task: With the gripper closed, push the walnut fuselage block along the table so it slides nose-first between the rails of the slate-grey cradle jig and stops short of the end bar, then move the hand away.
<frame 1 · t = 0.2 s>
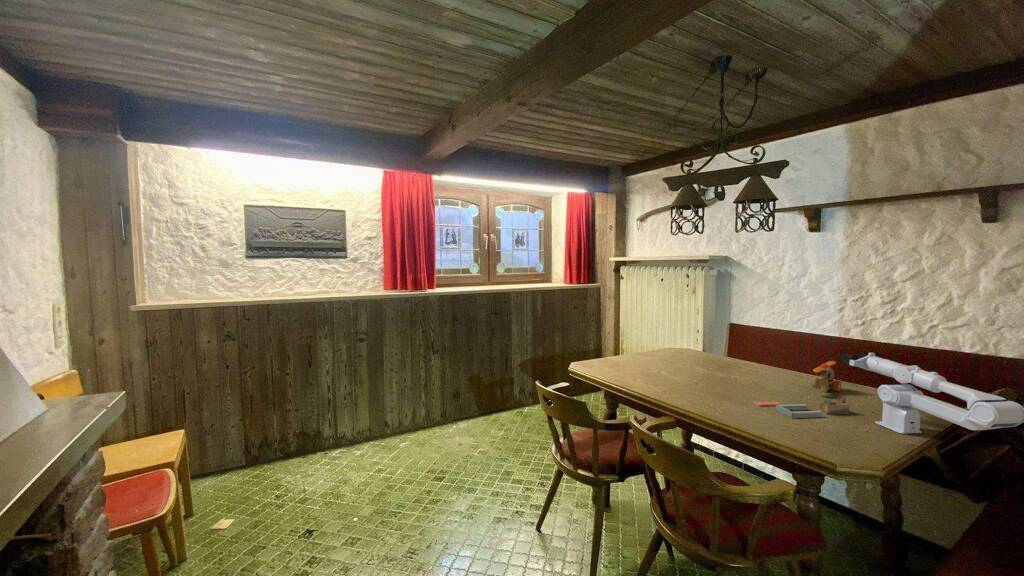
hand: (850, 356, 162), 21 cm above the table, tool horizontal, fingers open, 7 cm apart
cradle jig: (799, 413, 158), on the table
orange handled valve: (823, 392, 182), on the table
fuselage block: (833, 412, 158), on the table
wing plank: (767, 405, 167), on the table
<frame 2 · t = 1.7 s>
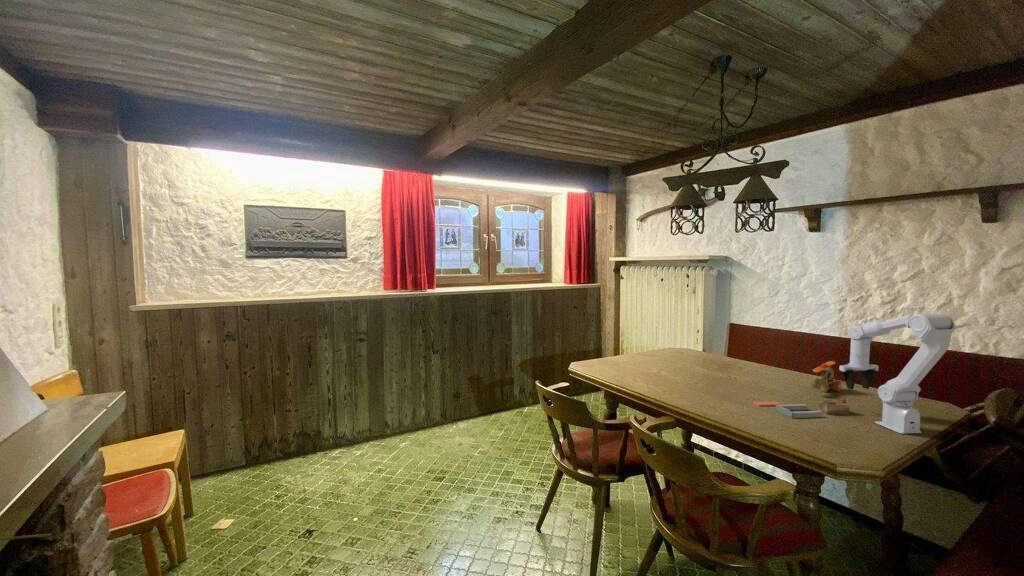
hand: (857, 388, 158), 9 cm above the table, tool pointing down, fingers open, 6 cm apart
nothing on the table moved.
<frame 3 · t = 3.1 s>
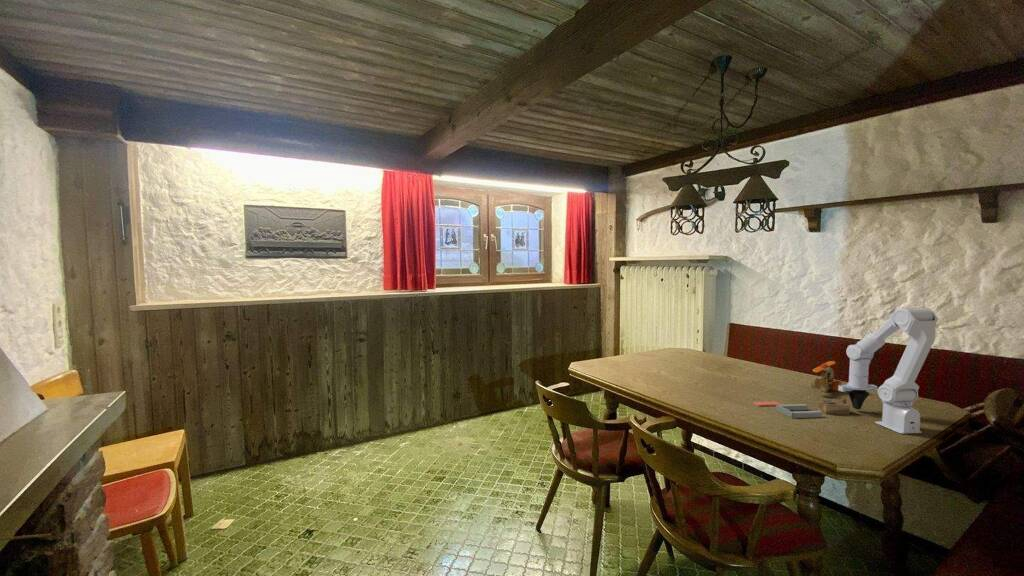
hand: (856, 408, 159), 1 cm above the table, tool pointing down, fingers closed
nothing on the table moved.
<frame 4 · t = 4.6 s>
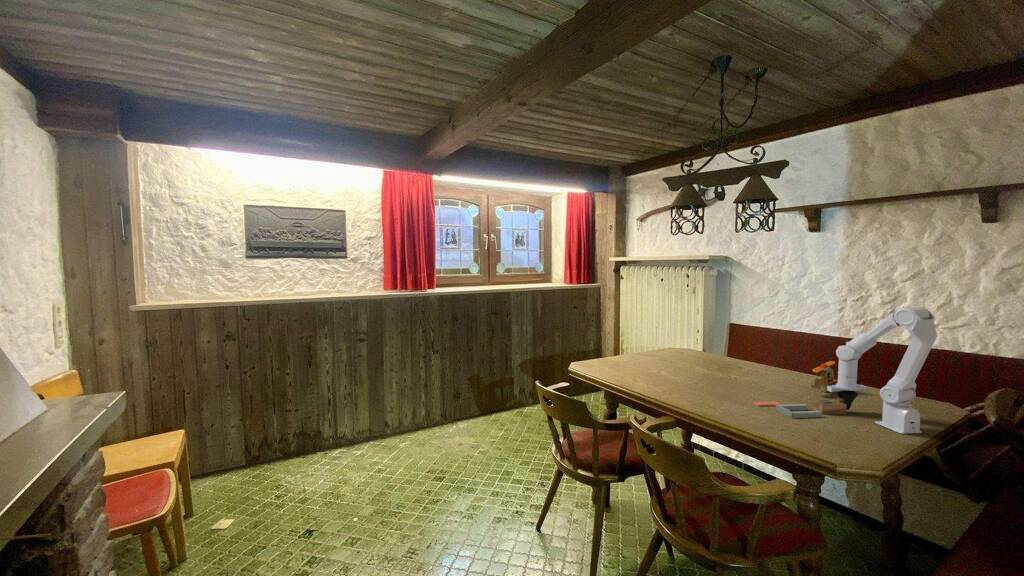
hand: (845, 408, 159), 1 cm above the table, tool pointing down, fingers closed
fuselage block: (830, 412, 158), on the table, touching gripper
everything else where it was.
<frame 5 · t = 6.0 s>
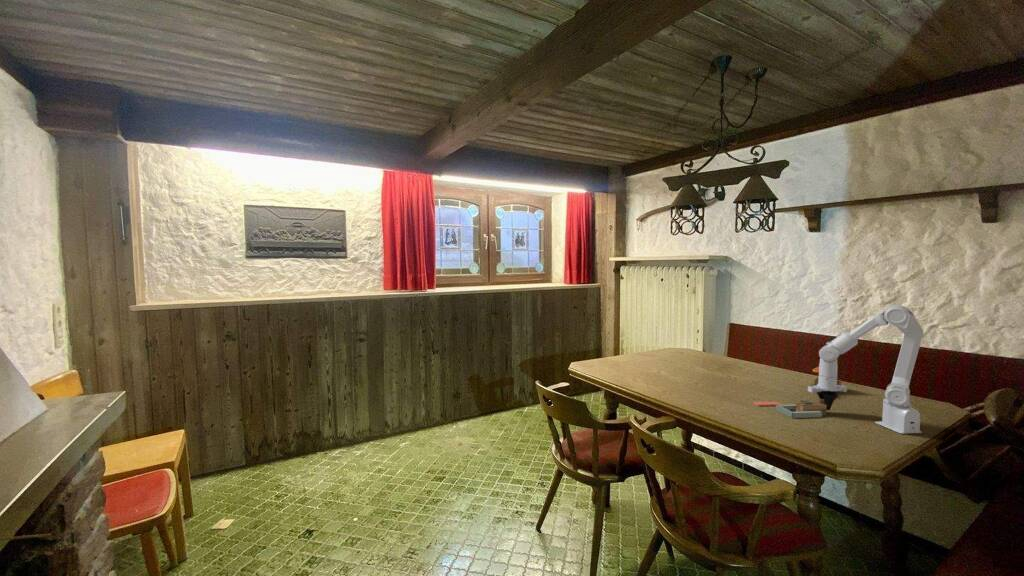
hand: (826, 409, 158), 1 cm above the table, tool pointing down, fingers closed
fuselage block: (810, 413, 158), on the table, touching gripper
everything else where it was.
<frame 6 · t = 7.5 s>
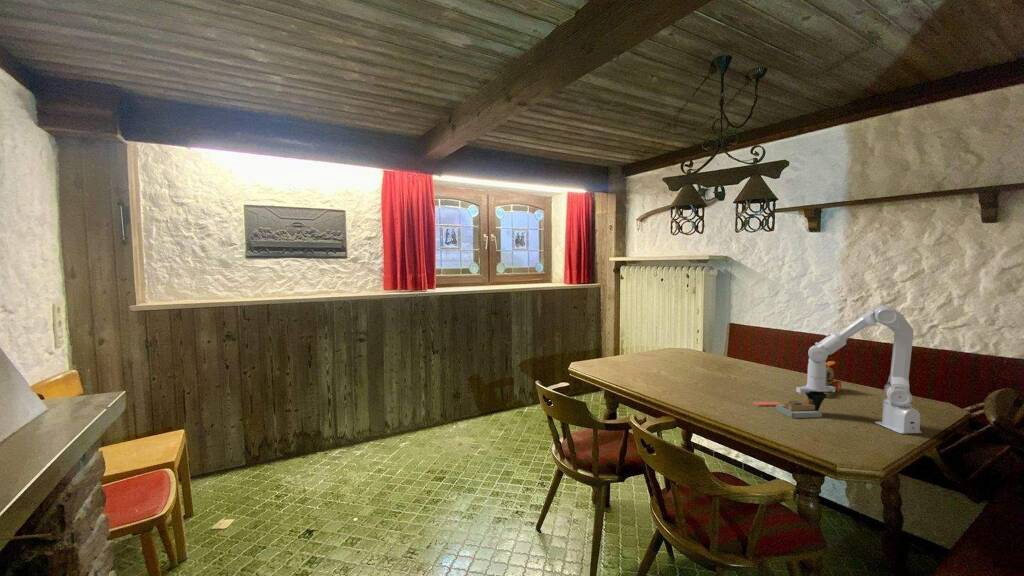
hand: (814, 409, 158), 1 cm above the table, tool pointing down, fingers closed
fuselage block: (799, 413, 157), on the table, touching gripper
everything else where it was.
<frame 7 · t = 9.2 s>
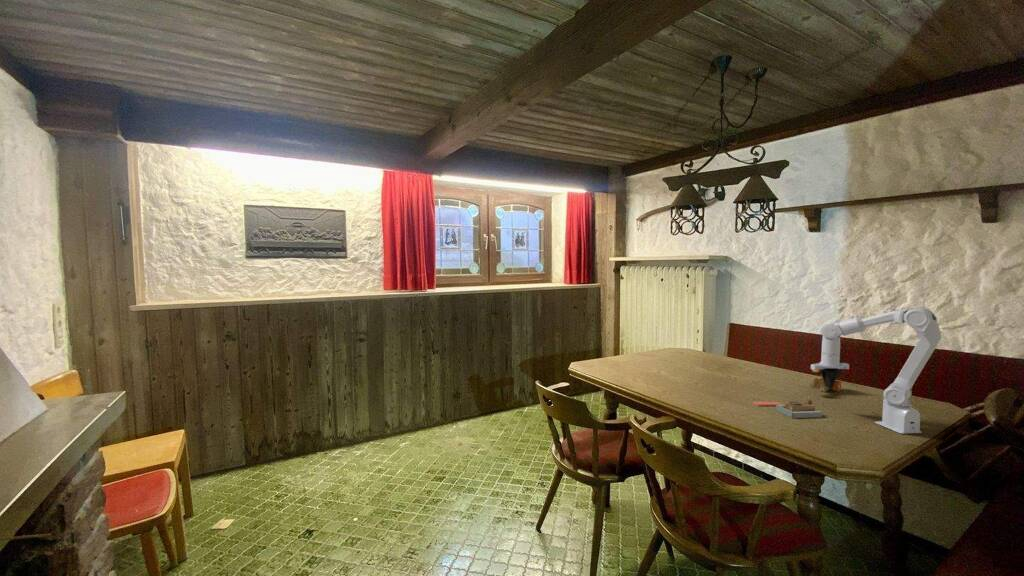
hand: (828, 387, 159), 10 cm above the table, tool pointing down, fingers closed
fuselage block: (799, 414, 157), on the table
everything else where it was.
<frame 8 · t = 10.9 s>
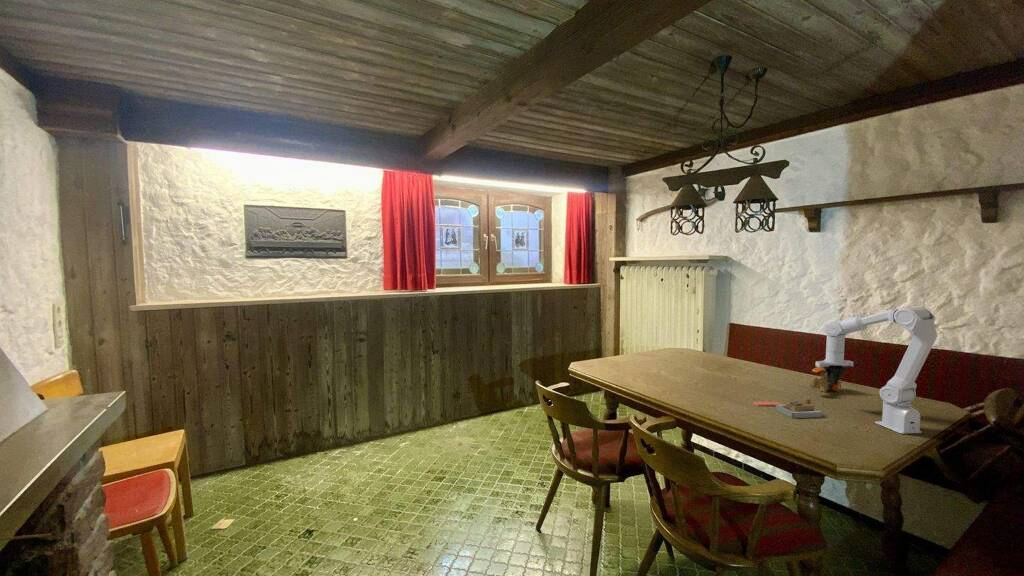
hand: (833, 383, 163), 10 cm above the table, tool pointing down, fingers closed
nothing on the table moved.
at the end: fuselage block 0.7 cm off-centre on the cradle jig, point 0.0 cm above the cradle jig's base; fuselage block tilted 0°; fuselage block moved 14.2 cm from its start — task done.
